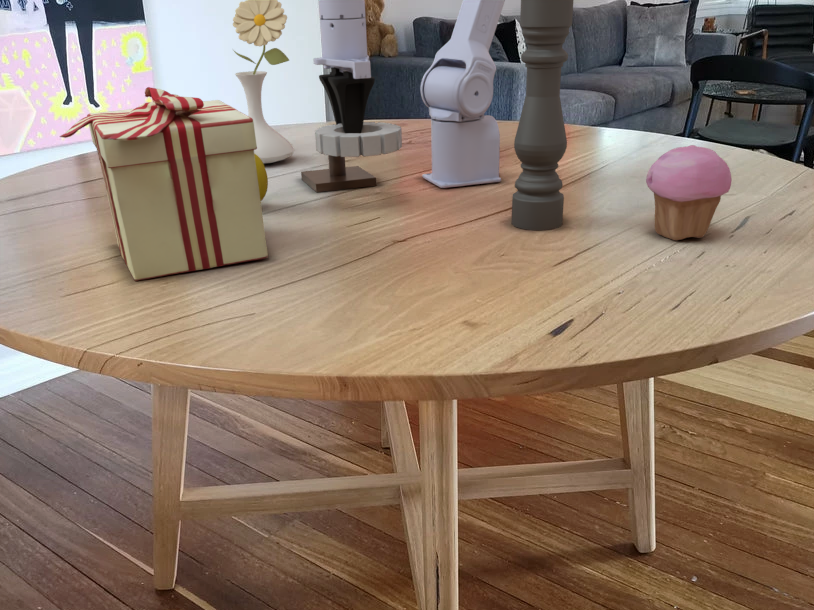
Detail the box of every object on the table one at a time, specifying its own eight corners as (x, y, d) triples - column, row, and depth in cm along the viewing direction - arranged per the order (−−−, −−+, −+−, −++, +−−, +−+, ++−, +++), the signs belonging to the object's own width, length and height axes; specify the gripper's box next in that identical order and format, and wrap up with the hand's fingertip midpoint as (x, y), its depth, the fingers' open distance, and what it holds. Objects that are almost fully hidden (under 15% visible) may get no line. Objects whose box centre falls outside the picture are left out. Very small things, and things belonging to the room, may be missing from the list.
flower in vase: (212, 167, 134) (188, -4, 123) (249, 153, 144) (231, -7, 132) (282, 171, 130) (264, -6, 118) (316, 157, 139) (303, -9, 127)
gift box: (79, 251, 95) (44, 92, 87) (234, 226, 103) (215, 78, 94) (110, 294, 82) (71, 111, 73) (284, 261, 89) (267, 93, 81)
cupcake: (697, 223, 98) (709, 136, 94) (737, 244, 91) (752, 150, 86) (627, 229, 97) (636, 141, 92) (663, 251, 89) (674, 156, 84)
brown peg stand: (358, 173, 127) (356, 135, 125) (376, 185, 120) (374, 145, 117) (301, 179, 125) (298, 140, 122) (316, 192, 117) (313, 151, 114)
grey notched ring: (384, 137, 112) (384, 119, 111) (413, 151, 103) (413, 131, 102) (307, 145, 109) (306, 126, 108) (330, 160, 100) (328, 139, 99)
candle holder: (566, 217, 102) (580, -9, 90) (557, 231, 97) (571, -7, 85) (517, 214, 104) (525, -8, 92) (505, 228, 99) (512, -6, 87)
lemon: (262, 216, 107) (255, 152, 103) (222, 214, 108) (213, 151, 104) (276, 205, 111) (270, 144, 108) (238, 204, 112) (230, 143, 109)
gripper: (297, 17, 107) (306, 126, 114) (327, 22, 95) (335, 144, 101) (349, 15, 109) (355, 122, 116) (384, 19, 97) (389, 138, 104)
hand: (349, 132), depth 109 cm, fingers closed on grey notched ring, 2 cm apart
